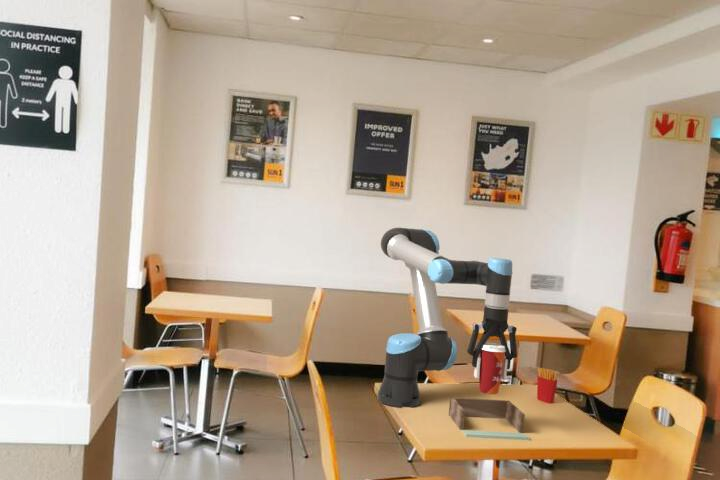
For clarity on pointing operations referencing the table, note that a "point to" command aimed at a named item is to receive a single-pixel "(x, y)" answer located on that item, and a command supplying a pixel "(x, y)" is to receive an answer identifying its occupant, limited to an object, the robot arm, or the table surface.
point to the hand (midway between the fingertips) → (489, 378)
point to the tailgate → (495, 435)
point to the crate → (485, 411)
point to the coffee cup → (491, 367)
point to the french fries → (546, 385)
